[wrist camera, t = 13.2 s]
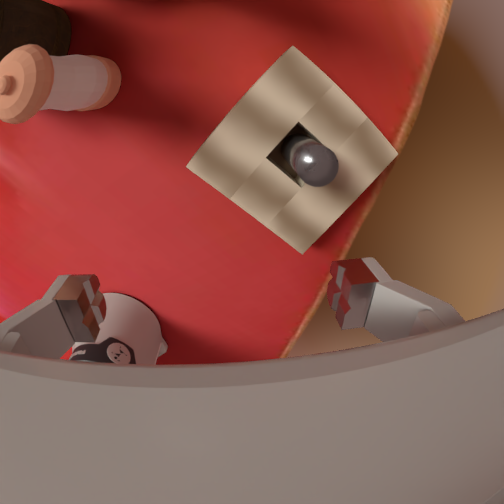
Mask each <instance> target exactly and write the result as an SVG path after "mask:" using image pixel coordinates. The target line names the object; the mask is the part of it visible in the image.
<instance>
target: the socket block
mask: <svg viewBox="0 0 504 504" xmlns="http://www.w3.org/2000/svg"><path fill="white" fill-rule="evenodd" d="M292 134H303V135H305V136H307V137H309V138H311V139H312V140H314V141H316V142H318V143H320V144H322V145H324V146H325V147H327V148H329V149H330V150H332V151H333V152H334V153H335V155H336V157H337V159H338V163H339V168H338V173H337V175H336V177H335V178H334V180H333V181H332V182H330V183H329V184H327V185H325V186H322V187H313V186H310V185H308V184H306V183H305V182H304V181H303V180H302V179H301V178H300V177H299V175H298V174H297V173H296V172H295V171H294V169H293V168H292V167H291V166H290V164H289V163H288V162H287V161H286V160H285V158H284V157H283V155H282V151H281V147H282V143H283V141H284V140H285V139H286V138H287V137H288V136H289V135H292ZM397 155H398V153H397V152H396V150H395V149H394V148H393V147H392V145H391V144H390V143H389V142H388V140H387V139H386V138H385V137H384V136H383V134H382V133H381V132H380V131H379V130H378V129H377V127H376V126H375V125H374V124H373V123H372V122H371V121H370V119H369V118H368V117H367V116H366V115H365V114H364V113H363V112H362V111H361V109H360V108H359V107H358V106H357V105H356V104H355V103H354V102H353V101H352V100H351V99H350V98H349V97H348V96H347V95H346V94H345V93H344V92H343V91H342V90H341V89H340V88H339V87H338V86H337V85H336V84H335V83H334V82H333V81H332V80H331V79H330V78H329V77H328V76H327V75H326V74H325V73H324V72H323V71H321V70H320V69H319V68H318V67H317V66H316V65H315V64H314V63H313V62H311V61H310V60H309V59H308V58H307V57H306V56H305V55H303V54H302V53H301V52H300V51H299V50H298V49H296V48H295V47H294V46H292V47H290V48H289V49H288V50H287V51H286V52H285V53H284V54H283V55H282V56H281V57H280V58H279V59H278V60H277V61H276V62H275V63H274V64H273V65H272V66H271V67H270V68H269V69H268V70H267V71H266V72H265V73H264V74H263V75H262V76H261V77H260V78H259V79H258V80H257V81H256V83H255V84H254V85H253V86H252V87H251V88H250V89H249V90H248V91H247V92H246V94H245V95H244V96H243V97H242V98H241V99H240V100H239V101H238V102H237V104H236V105H235V106H234V107H233V108H232V109H231V111H230V112H229V113H228V114H227V115H226V116H225V118H224V119H223V120H222V121H221V122H220V123H219V125H218V126H217V127H216V128H215V129H214V131H213V132H212V133H211V134H210V136H209V137H208V138H207V139H206V141H205V142H204V143H203V144H202V146H201V147H200V148H199V149H198V151H197V152H196V153H195V154H194V156H193V157H192V158H191V160H190V161H189V163H188V164H187V166H186V167H187V168H188V169H189V170H191V171H192V172H194V173H195V174H196V175H198V176H199V177H200V178H202V179H203V180H204V181H206V182H207V183H209V184H210V185H211V186H213V187H214V188H215V189H217V190H218V191H219V192H221V193H222V194H223V195H225V196H226V197H228V198H229V199H230V200H232V201H233V202H234V203H236V204H237V205H238V206H240V207H241V208H242V209H244V210H245V211H246V212H248V213H249V214H250V215H252V216H253V217H254V218H256V219H257V220H258V221H259V222H261V223H262V224H263V225H265V226H266V227H267V228H269V229H270V230H271V231H273V232H274V233H275V234H277V235H278V236H279V237H280V238H282V239H283V240H284V241H286V242H287V243H288V244H289V245H291V246H292V247H293V248H295V249H296V250H297V251H299V252H300V253H301V254H303V253H304V252H305V251H306V250H307V249H308V248H309V247H310V246H311V245H312V244H313V243H314V242H315V241H316V240H317V239H318V238H319V237H320V236H321V235H322V234H323V233H324V232H325V231H326V230H327V229H328V228H329V227H330V226H331V225H332V224H333V223H334V222H335V221H336V220H337V219H338V218H339V217H340V216H341V215H342V213H343V212H344V211H345V210H346V209H347V208H348V207H349V206H350V205H351V204H352V203H353V202H354V201H355V200H356V199H357V198H358V197H359V196H360V195H361V194H362V193H363V191H364V190H365V189H366V188H367V187H368V186H369V185H370V184H371V183H372V182H373V181H374V180H375V179H376V178H377V177H378V175H379V174H380V173H381V172H382V171H383V170H384V169H385V168H386V167H387V166H388V165H389V164H390V162H391V161H392V160H393V159H394V158H395V157H396V156H397Z"/></svg>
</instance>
